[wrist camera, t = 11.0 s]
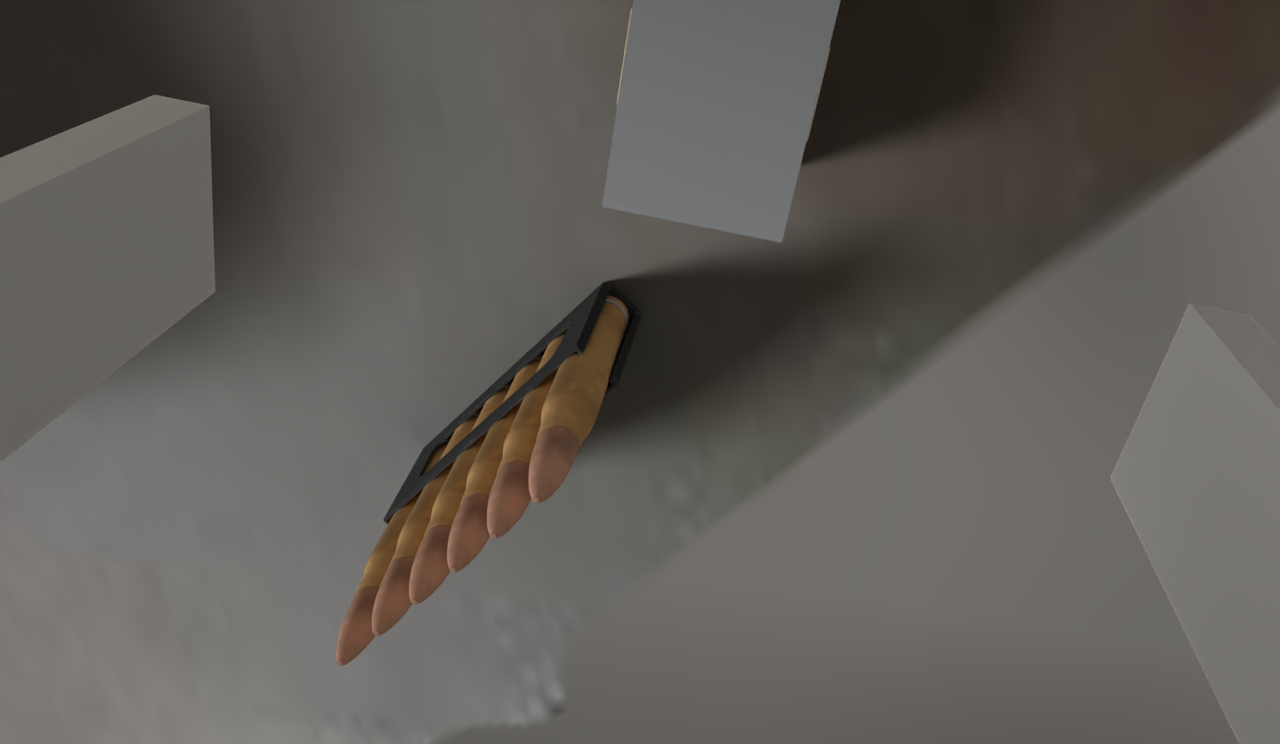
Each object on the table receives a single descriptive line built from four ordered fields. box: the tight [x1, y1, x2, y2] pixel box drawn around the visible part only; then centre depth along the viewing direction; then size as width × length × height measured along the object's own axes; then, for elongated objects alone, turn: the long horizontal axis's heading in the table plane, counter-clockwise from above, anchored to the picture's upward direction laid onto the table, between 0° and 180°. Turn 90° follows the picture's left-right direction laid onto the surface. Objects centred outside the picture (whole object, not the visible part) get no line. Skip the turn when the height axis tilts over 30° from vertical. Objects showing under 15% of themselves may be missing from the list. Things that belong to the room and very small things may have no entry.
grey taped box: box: [602, 0, 841, 243], centre depth 30 cm, size 5×8×7 cm, turn 170°
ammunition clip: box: [336, 283, 641, 666], centre depth 34 cm, size 11×2×12 cm, turn 135°
